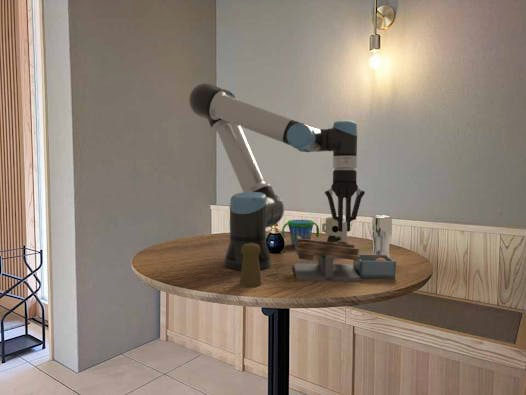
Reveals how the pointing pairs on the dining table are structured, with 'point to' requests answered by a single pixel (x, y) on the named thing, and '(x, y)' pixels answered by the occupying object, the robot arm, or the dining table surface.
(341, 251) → the tilt lever
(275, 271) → the dining table surface
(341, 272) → the lever base
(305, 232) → the snack cup
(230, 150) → the robot arm
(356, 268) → the cup
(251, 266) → the brown upright piece
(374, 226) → the beer glass
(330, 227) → the character mug
